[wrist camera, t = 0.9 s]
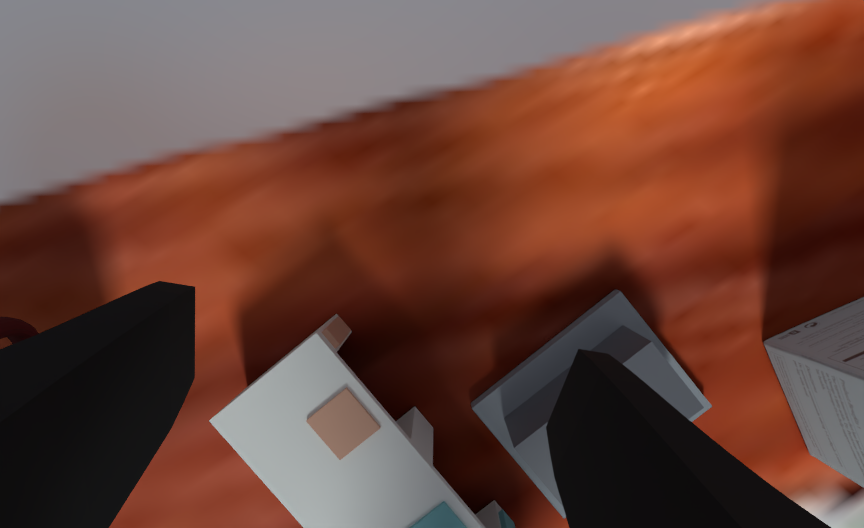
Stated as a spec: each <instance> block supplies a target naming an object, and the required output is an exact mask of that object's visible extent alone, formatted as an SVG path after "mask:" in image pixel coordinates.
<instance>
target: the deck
mask: <svg viewBox="0 0 864 528" xmlns="http://www.w3.org/2000/svg"><path fill="white" fill-rule="evenodd" d="M622 325H624V326H625V327H627V328H629V329H631V330H632V331H634V332H636V333H638V334H639V335H641V336H643V337H645V338H646V339H648V340H650V341H652V343H653V344H654V345H655V346H656V348H657V349H658V350H659V351H660V353H661V354H662V355H663V356H664V358H665V359H666V360H667V361H668V363H669V364H670V365H671V366H672V368H673V369H674V370H675V371H676V373H677V374H678V375H679V377H680V378H681V379H682V380H683V382H684V383H685V384H686V385H687V387H688V388H689V389H690V390H691V392H692V393H693V394H694V395H695V397H696V398H697V399H698V400H699V402H700V403H701V404H702V405H703V407H704V408H703V409H702V410H700V411H699V412H698V413H696V414H695V415H694V416H692V417H691V418H690V419H688V420H690V421H691V422H692V421H694V420H695V419H696V418H697V417H699V416H700V415H701V414H703V413H704V412H705V411H707V410H708V409H709V408H711V407H712V406H711V404H710V403H709V402H708V400H707V399H706V398H705V397H704V395H703V394H702V393H701V392H700V390H699V389H698V388H697V387H696V385H695V384H694V383H693V382H692V380H691V379H690V378H689V377H688V375H687V374H686V373H685V372H684V370H683V369H682V368H681V367H680V365H679V364H678V363H677V361H676V360H675V359H674V358H673V356H672V355H671V354H670V353H669V351H668V350H667V349H666V348H665V346H664V345H663V344H662V343H661V341H660V340H659V339H658V338H657V336H656V335H655V334H654V333H653V331H652V330H651V329H650V328H649V326H648V325H647V324H646V323H645V321H644V320H643V319H642V317H641V316H640V315H639V314H638V312H637V311H636V310H635V309H634V307H633V306H632V305H631V304H630V302H629V301H628V300H627V299H626V297H625V296H624V295H623V294H622V292H621V291H619V290H616V289H615V290H613V291H612V292H611V293H610V294H608V295H607V296H606V297H605V298H603V299H602V300H601V301H599V302H598V303H597V304H596V305H594V306H593V307H592V308H591V309H589V310H588V311H587V312H585V313H584V314H583V315H582V316H580V317H579V318H578V319H577V320H575V321H574V322H573V323H571V324H570V325H569V326H568V327H566V328H565V329H564V330H563V331H561V332H560V333H559V334H558V335H556V336H555V337H554V338H552V339H551V340H550V341H549V342H547V343H546V344H545V345H544V346H542V347H541V348H540V349H538V350H537V351H536V352H535V353H533V354H532V355H531V356H530V357H528V358H527V359H526V360H525V361H523V362H522V363H521V364H519V365H518V366H517V367H516V368H514V369H513V370H512V371H511V372H509V373H508V374H507V375H505V376H504V377H503V378H502V379H500V380H499V381H498V382H497V383H495V384H494V385H493V386H492V387H490V388H489V389H488V390H486V391H485V392H484V393H483V394H481V395H480V396H479V397H478V398H476V399H475V400H474V401H472V402H471V407H472V409H473V411H474V412H475V413H476V414H477V415H478V417H479V418H480V419H481V420H482V421H483V423H484V424H485V425H486V426H487V427H488V428H489V430H490V431H491V432H492V433H493V434H494V436H495V437H496V438H497V439H498V440H499V442H500V443H501V444H502V445H503V446H504V448H505V449H506V450H507V451H508V452H509V454H510V455H511V456H512V457H513V458H514V460H515V461H516V462H517V463H518V464H519V466H520V467H521V468H522V469H523V470H524V471H525V473H526V474H527V475H528V476H529V477H530V479H531V480H532V481H533V482H534V483H535V485H536V486H537V487H538V488H539V489H540V491H541V492H542V493H543V494H544V495H545V497H546V498H547V499H548V500H549V501H550V503H551V504H552V505H553V506H554V507H555V509H556V510H557V511H558V512H559V513H560V514H561V516H562V517H563V518H565V517H566V514H565V511H564V508H563V506H562V505H561V504H560V503H559V501H558V500H557V499H556V498H555V497H554V495H553V494H552V493H551V492H550V491H549V489H548V488H547V487H546V486H545V485H544V483H543V482H542V481H541V480H540V479H539V477H538V476H537V475H536V474H535V473H534V471H533V470H532V469H531V468H530V467H529V465H528V464H527V463H526V462H525V461H524V460H523V458H522V457H521V456H520V455H519V454H518V452H517V451H516V450H515V449H514V447H513V444H512V441H511V438H510V435H509V432H508V429H507V426H506V423H505V420H504V418H505V417H506V416H507V415H508V414H510V413H511V412H512V411H513V410H515V409H516V408H517V407H519V406H520V405H521V404H522V403H524V402H525V401H526V400H528V399H529V398H530V397H531V396H533V395H534V394H535V393H537V392H538V391H539V390H540V389H542V388H543V387H544V386H546V385H547V384H548V383H549V382H551V381H552V380H553V379H554V378H556V377H557V376H558V375H560V374H561V373H562V372H563V371H565V370H566V369H567V368H569V367H570V366H571V365H572V363H573V361H574V358H575V356H576V353H577V351H578V349H583V350H589V351H590V350H592V349H593V348H594V347H595V346H597V345H598V344H599V343H601V342H602V341H603V340H604V339H606V338H607V337H608V336H610V335H611V334H612V333H613V332H615V331H616V330H617V329H618V328H620V327H621V326H622Z"/></svg>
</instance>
